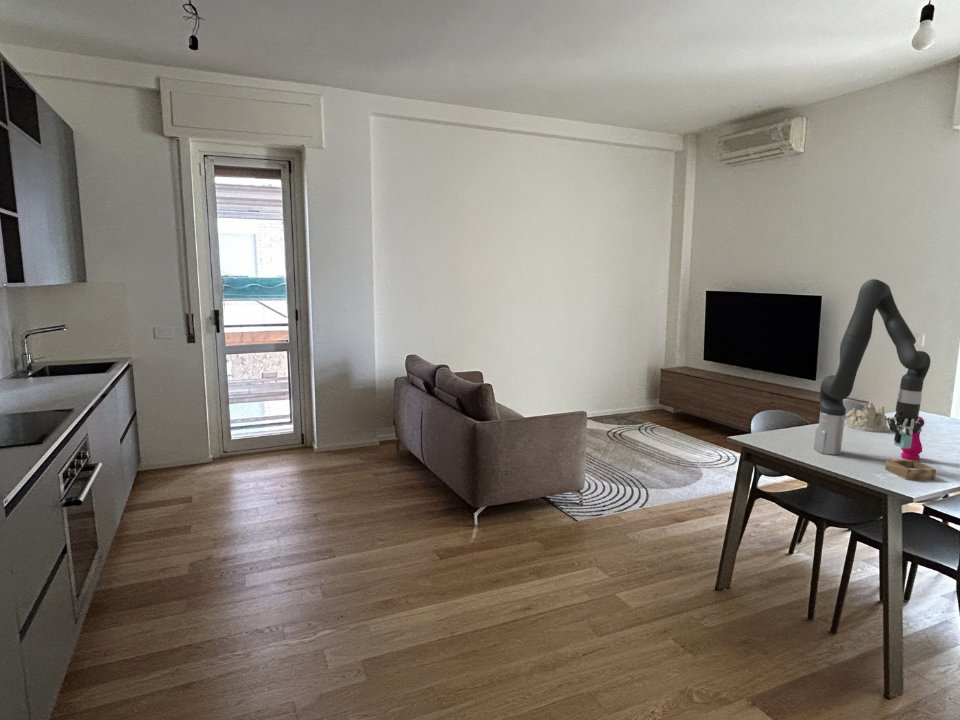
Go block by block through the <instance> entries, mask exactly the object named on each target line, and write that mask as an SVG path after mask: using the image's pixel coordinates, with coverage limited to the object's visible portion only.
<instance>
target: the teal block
mask: <svg viewBox="0 0 960 720" xmlns="http://www.w3.org/2000/svg"><path fill="white" fill-rule="evenodd" d="M911 443H912V436H911V435H908V434H905V432H902V434H901V441H900V443H896V442H895V441H894V443H893V445H895V446H896V447H899V448H901V447H902V448H911Z"/></svg>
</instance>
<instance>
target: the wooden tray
mask: <svg viewBox="0 0 960 720" xmlns="http://www.w3.org/2000/svg"><path fill="white" fill-rule="evenodd" d="M885 471H888V472H890V473H893V474H894V475H896V476H898V477H900V478H902V479H903V480H907V481H908V480H909V481H910V480H912V481H917V480H918V481H923V480H924V481H928V480H929V481H934V480H935V479H936V473H937V469H935V468H933V467H931V466H929V465H926V464H924V463H921V462H919V461H915V460H907V459H886V461H885Z"/></svg>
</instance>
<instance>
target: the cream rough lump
mask: <svg viewBox="0 0 960 720" xmlns="http://www.w3.org/2000/svg"><path fill="white" fill-rule="evenodd" d="M887 418H888V417H887V416H886V414H885V406H883V405H880V406H879V407H878V408H876V407H875V405H874V403H873V402H872V401H869V402H868V404H867V406H864V407H863V408H862V410H860V409H856V408H855V407H853V408H852V409H850V410H849V411H848V412H847V413H846V414H845V421H844V426H845V425H846V427H848V428H851V429H854V430H857V431H861V432H868V433H888V432H889V430H890V429H889V425H887V424H888V421H887Z"/></svg>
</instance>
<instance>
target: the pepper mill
mask: <svg viewBox="0 0 960 720" xmlns="http://www.w3.org/2000/svg"><path fill="white" fill-rule="evenodd" d="M918 418H919V419H921V420H923V421H924V422H925V419H924V418H923V417H921V416H920V413H919V414H918ZM924 425H925V423H924V424H923V425H922V426H921V428H920V429H919V431H918V432H917V433H916V434H915V433H914V434H912V435H911V436H912V443H911V448H902V447H900V450H902V452H901V453H900V457H901V458H902V459H903V460H915V461H917V462H919V461H920V458H921V457H920V454H921V453H922V452H923V445H922V442H921V438H920V436H921V433H922V430H923V428H922V427H924Z"/></svg>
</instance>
